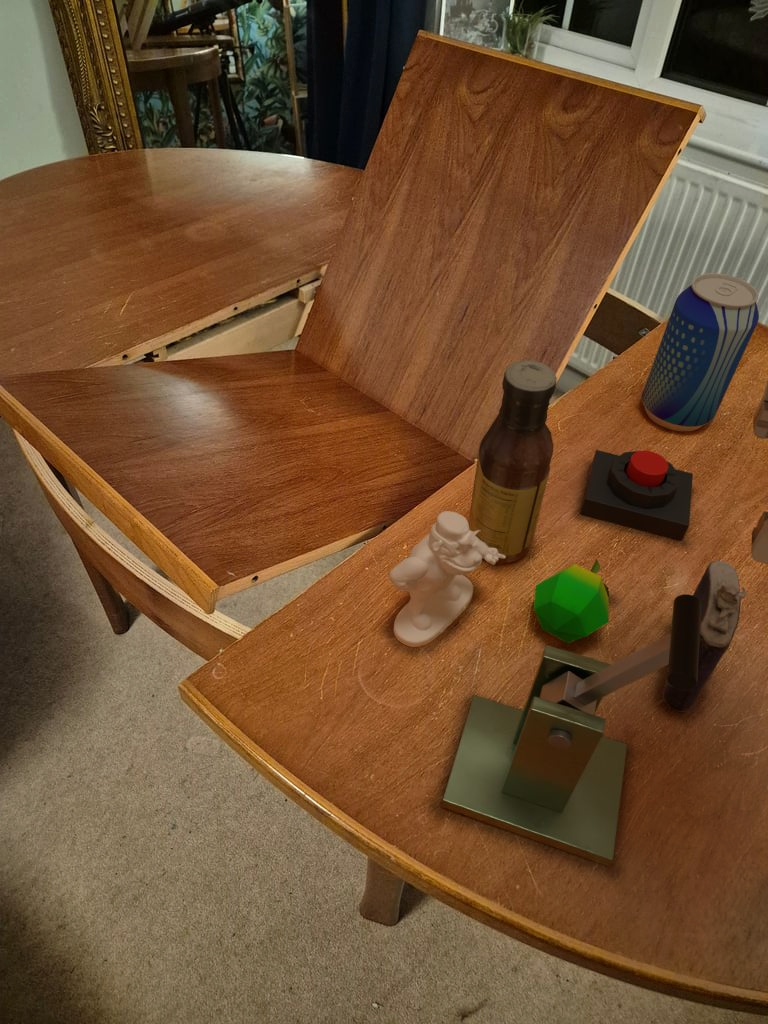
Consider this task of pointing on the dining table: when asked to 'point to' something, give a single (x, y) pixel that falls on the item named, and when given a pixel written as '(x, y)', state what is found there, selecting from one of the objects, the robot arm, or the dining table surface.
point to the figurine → (438, 578)
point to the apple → (572, 603)
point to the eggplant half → (711, 627)
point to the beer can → (700, 351)
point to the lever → (639, 663)
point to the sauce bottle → (514, 462)
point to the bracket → (542, 767)
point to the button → (647, 468)
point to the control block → (637, 497)
